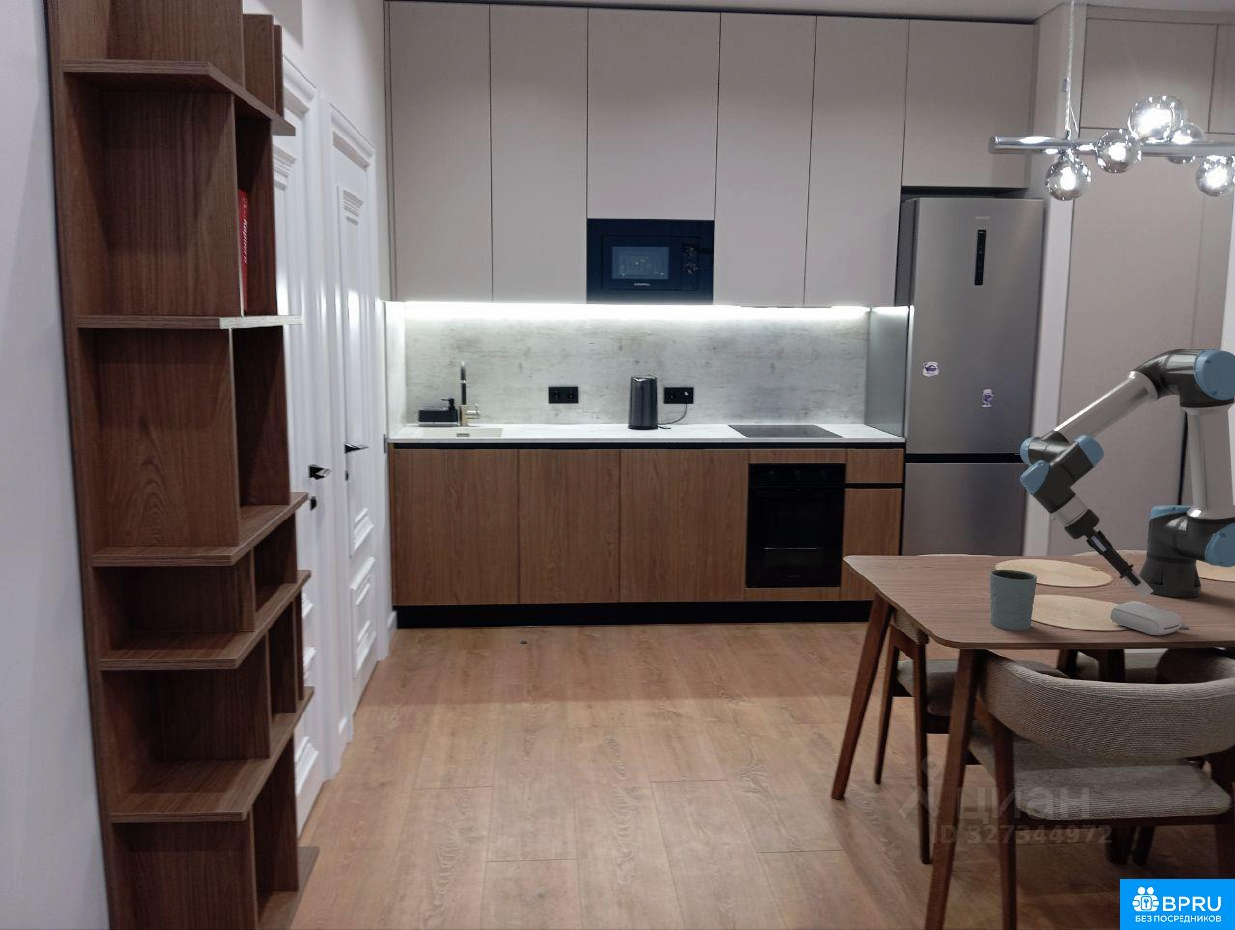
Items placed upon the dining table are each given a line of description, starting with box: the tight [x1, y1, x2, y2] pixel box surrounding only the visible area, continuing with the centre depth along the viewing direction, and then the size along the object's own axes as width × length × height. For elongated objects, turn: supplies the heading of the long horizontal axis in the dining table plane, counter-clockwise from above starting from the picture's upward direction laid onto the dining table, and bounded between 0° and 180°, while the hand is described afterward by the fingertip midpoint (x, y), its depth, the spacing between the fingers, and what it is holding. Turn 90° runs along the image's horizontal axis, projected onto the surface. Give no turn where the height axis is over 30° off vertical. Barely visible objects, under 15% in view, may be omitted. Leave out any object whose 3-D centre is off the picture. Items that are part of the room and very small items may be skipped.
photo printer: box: [1109, 600, 1183, 636], centre depth 225 cm, size 10×4×12 cm
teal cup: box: [989, 569, 1038, 632], centre depth 225 cm, size 10×10×12 cm
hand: (1148, 593), depth 229 cm, fingers closed
